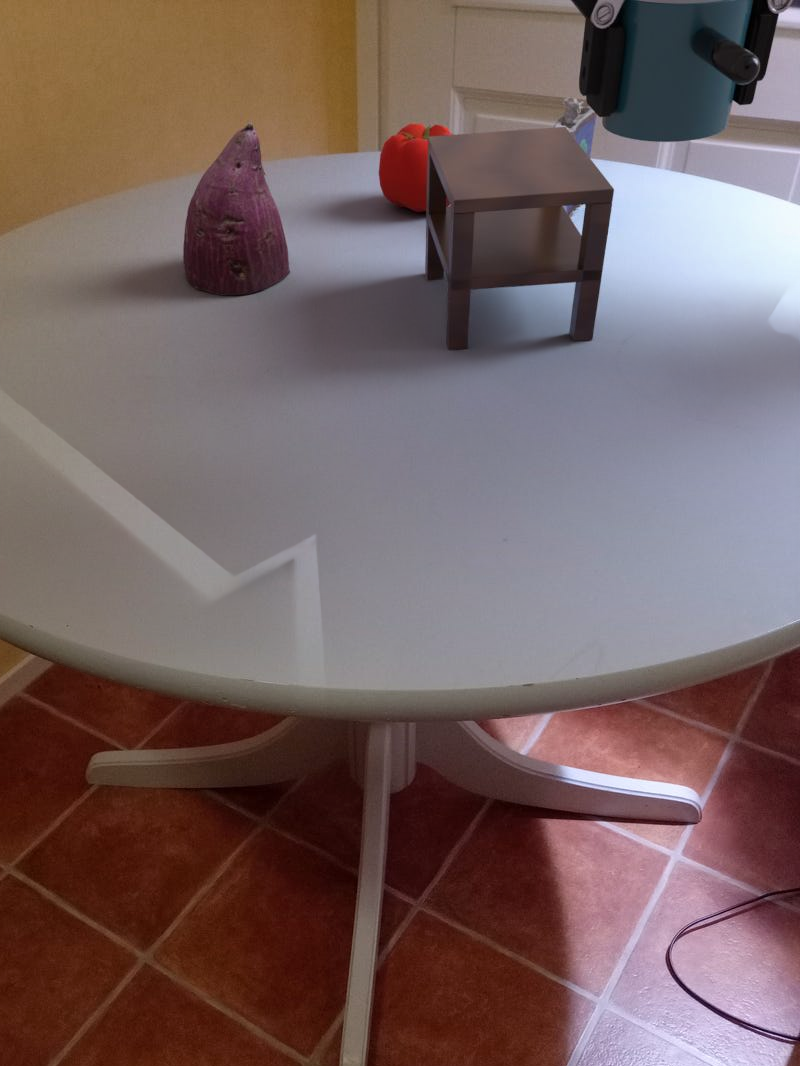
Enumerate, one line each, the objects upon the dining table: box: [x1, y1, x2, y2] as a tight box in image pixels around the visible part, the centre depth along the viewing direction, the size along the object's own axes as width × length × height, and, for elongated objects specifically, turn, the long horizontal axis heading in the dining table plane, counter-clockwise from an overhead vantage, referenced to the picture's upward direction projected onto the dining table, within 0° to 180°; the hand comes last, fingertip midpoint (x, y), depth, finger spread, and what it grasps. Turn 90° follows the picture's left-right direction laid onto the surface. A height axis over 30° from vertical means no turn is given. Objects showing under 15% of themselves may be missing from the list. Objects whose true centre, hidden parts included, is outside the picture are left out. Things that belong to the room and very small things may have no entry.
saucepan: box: [601, 0, 760, 143], centre depth 47 cm, size 6×12×6 cm, turn 3°
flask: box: [552, 96, 597, 218], centre depth 98 cm, size 9×3×11 cm, turn 152°
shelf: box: [424, 127, 615, 351], centre depth 83 cm, size 12×16×12 cm
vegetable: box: [182, 121, 291, 296], centre depth 91 cm, size 10×10×15 cm
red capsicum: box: [378, 123, 454, 213], centre depth 103 cm, size 9×9×8 cm
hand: (667, 100), depth 51 cm, fingers closed on saucepan, 6 cm apart
